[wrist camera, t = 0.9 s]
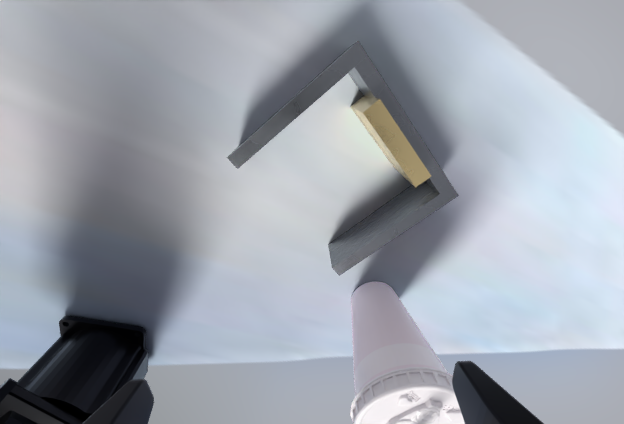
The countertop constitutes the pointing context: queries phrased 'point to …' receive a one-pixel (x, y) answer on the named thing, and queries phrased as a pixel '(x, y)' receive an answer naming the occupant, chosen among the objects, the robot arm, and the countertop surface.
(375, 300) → the smoothie
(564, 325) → the countertop surface
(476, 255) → the countertop surface
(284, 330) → the countertop surface
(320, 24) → the countertop surface
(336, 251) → the bracket
